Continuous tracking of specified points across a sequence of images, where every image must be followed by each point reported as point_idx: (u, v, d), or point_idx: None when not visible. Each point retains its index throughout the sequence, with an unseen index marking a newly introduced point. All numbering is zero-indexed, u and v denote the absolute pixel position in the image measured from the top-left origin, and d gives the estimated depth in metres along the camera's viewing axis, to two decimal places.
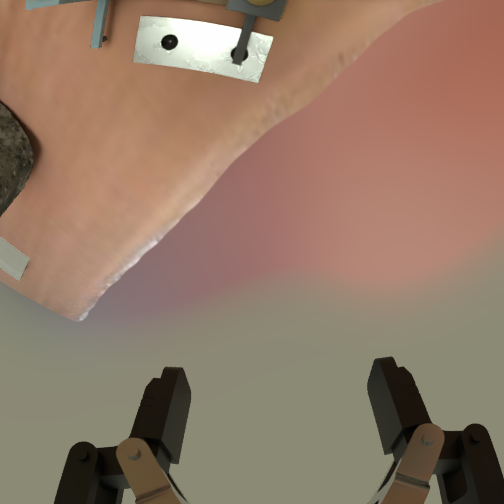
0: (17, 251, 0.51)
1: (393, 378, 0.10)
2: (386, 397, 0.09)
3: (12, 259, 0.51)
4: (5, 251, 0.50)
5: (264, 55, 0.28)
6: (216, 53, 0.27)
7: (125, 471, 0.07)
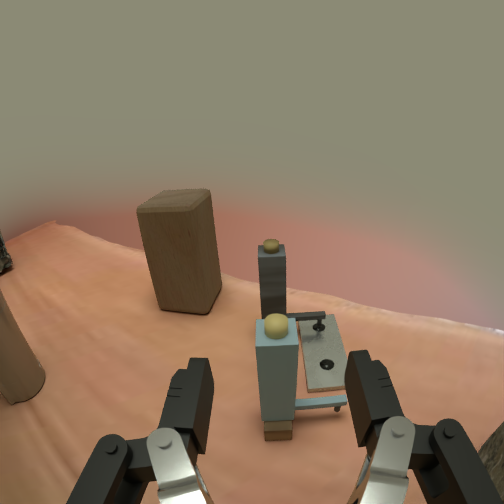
0: None
1: (365, 371, 0.10)
2: (359, 389, 0.10)
3: None
4: None
5: None
6: (324, 337, 0.43)
7: (153, 460, 0.07)
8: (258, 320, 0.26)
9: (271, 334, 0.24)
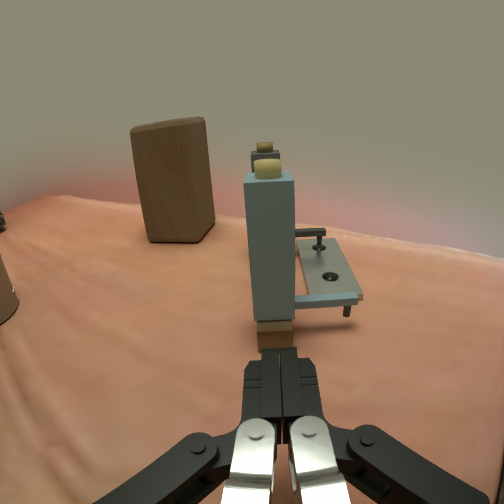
0: None
1: (289, 367, 0.11)
2: (281, 385, 0.11)
3: None
4: None
5: (312, 240, 0.44)
6: (325, 255, 0.40)
7: (236, 447, 0.08)
8: (248, 173, 0.23)
9: (262, 172, 0.21)
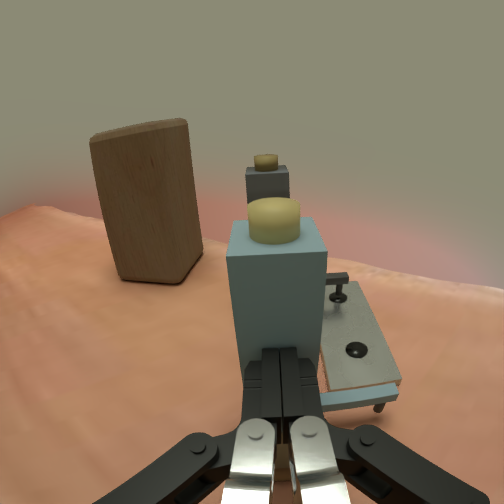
0: None
1: (289, 367, 0.11)
2: (281, 385, 0.11)
3: None
4: None
5: None
6: (348, 311, 0.29)
7: (236, 447, 0.08)
8: (238, 221, 0.13)
9: (263, 231, 0.11)
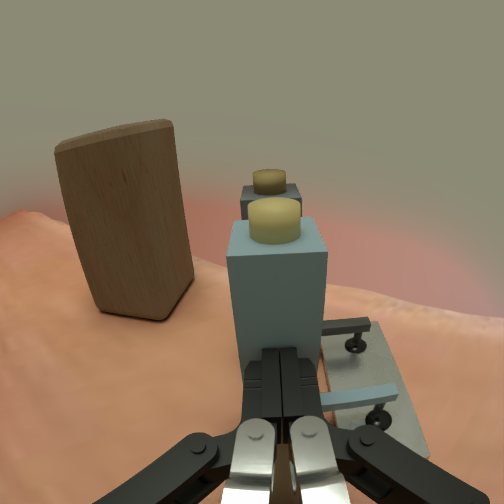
0: None
1: (289, 367, 0.11)
2: (281, 385, 0.11)
3: None
4: None
5: None
6: (368, 364, 0.22)
7: (236, 447, 0.08)
8: (238, 221, 0.13)
9: (263, 231, 0.11)
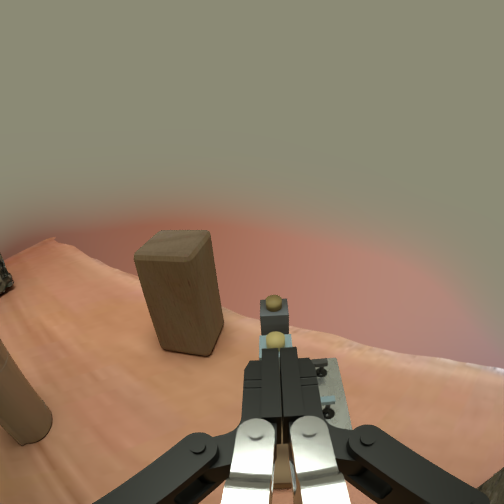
0: None
1: (289, 367, 0.11)
2: (281, 385, 0.11)
3: None
4: None
5: None
6: (326, 384, 0.41)
7: (236, 447, 0.08)
8: (261, 336, 0.33)
9: None
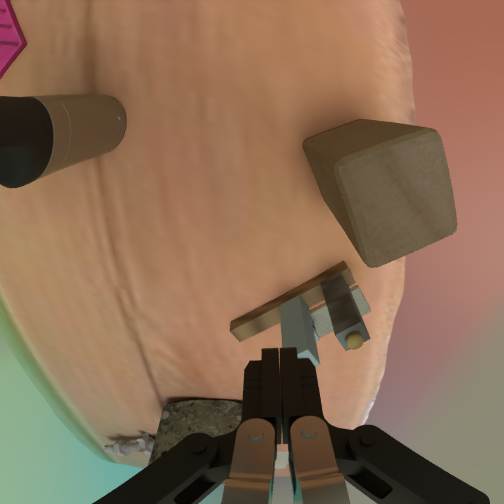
0: None
1: (289, 367, 0.11)
2: (281, 385, 0.11)
3: (276, 459, 0.74)
4: None
5: (362, 298, 0.48)
6: None
7: (236, 447, 0.08)
8: (307, 351, 0.35)
9: None
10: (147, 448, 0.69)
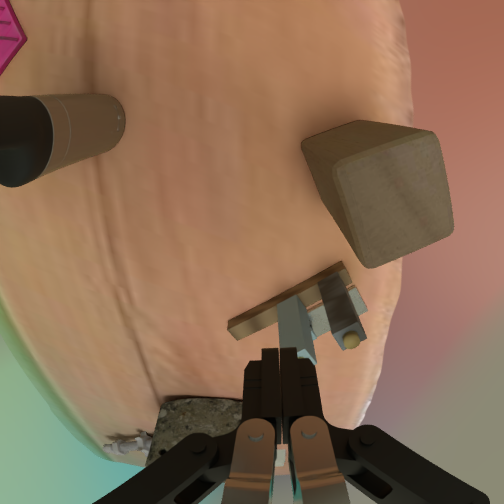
0: None
1: (289, 367, 0.11)
2: (281, 385, 0.11)
3: None
4: None
5: (359, 298, 0.48)
6: None
7: (236, 447, 0.08)
8: (304, 350, 0.35)
9: None
10: (145, 447, 0.69)
